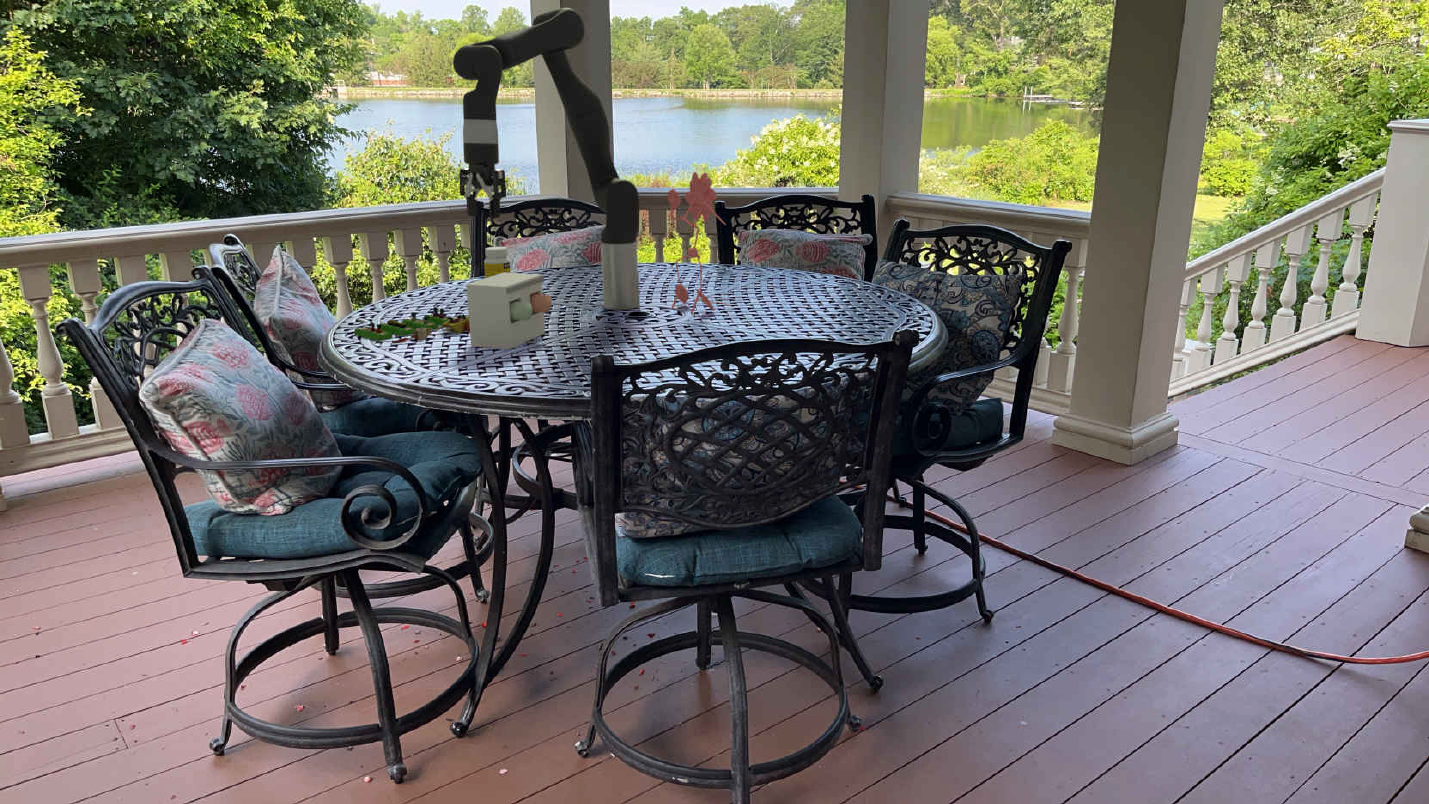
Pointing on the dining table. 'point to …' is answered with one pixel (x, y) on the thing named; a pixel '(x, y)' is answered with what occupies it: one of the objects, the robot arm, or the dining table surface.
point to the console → (503, 310)
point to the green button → (520, 311)
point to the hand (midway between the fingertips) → (483, 216)
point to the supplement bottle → (496, 261)
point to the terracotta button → (540, 303)
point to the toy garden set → (415, 327)
